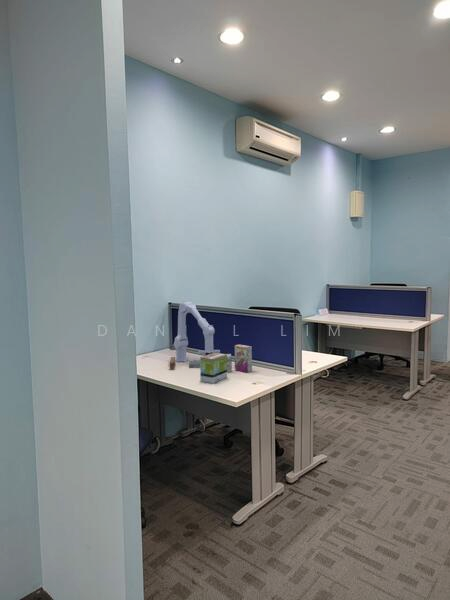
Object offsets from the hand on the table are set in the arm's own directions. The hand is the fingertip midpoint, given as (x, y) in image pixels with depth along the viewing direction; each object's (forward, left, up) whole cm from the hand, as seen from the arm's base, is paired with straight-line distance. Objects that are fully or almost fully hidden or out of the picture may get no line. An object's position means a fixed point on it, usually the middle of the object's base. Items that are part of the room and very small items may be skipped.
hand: (209, 363), depth 269 cm
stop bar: (0, -25, -1) cm, 25 cm away
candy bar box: (+17, +21, -1) cm, 27 cm away
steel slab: (0, -9, -2) cm, 9 cm away
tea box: (+34, +1, -2) cm, 34 cm away
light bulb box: (+16, +8, -2) cm, 18 cm away
